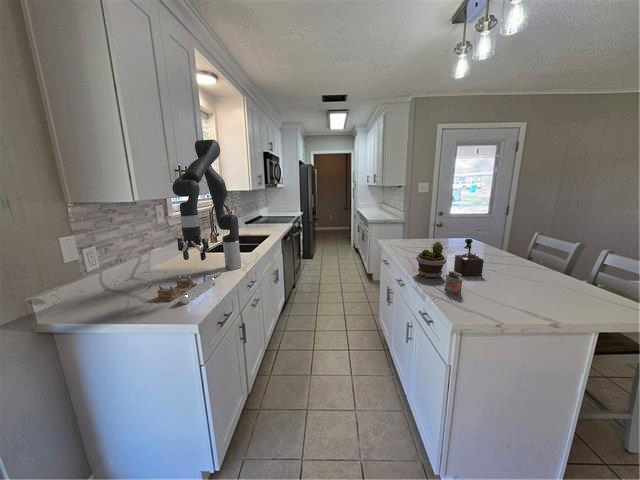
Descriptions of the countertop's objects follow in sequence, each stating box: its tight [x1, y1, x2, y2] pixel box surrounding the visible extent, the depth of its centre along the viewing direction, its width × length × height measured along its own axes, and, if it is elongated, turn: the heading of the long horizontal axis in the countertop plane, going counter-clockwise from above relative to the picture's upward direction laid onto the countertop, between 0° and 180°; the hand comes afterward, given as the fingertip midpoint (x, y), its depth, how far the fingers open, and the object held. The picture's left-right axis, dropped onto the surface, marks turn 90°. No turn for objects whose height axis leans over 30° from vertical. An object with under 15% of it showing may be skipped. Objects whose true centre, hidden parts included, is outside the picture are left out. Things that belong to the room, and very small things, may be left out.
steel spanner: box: [179, 277, 216, 306], centre depth 120 cm, size 23×3×4 cm, turn 170°
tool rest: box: [153, 275, 198, 303], centre depth 122 cm, size 19×8×6 cm, turn 170°
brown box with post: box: [453, 238, 485, 278], centre depth 141 cm, size 16×11×18 cm
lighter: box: [443, 270, 464, 297], centre depth 115 cm, size 8×3×10 cm, turn 23°
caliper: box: [202, 271, 222, 282], centre depth 138 cm, size 20×1×6 cm, turn 178°
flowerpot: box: [415, 239, 447, 280], centre depth 136 cm, size 14×15×20 cm
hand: (194, 259), depth 117 cm, fingers open, 8 cm apart
